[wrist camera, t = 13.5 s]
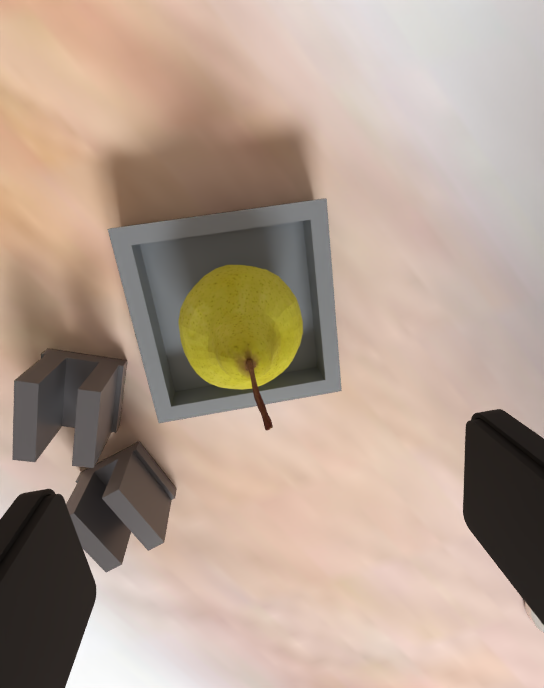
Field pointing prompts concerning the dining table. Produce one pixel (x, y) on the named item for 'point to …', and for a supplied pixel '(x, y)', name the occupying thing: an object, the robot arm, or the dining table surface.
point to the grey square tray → (200, 259)
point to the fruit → (241, 329)
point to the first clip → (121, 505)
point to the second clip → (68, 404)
